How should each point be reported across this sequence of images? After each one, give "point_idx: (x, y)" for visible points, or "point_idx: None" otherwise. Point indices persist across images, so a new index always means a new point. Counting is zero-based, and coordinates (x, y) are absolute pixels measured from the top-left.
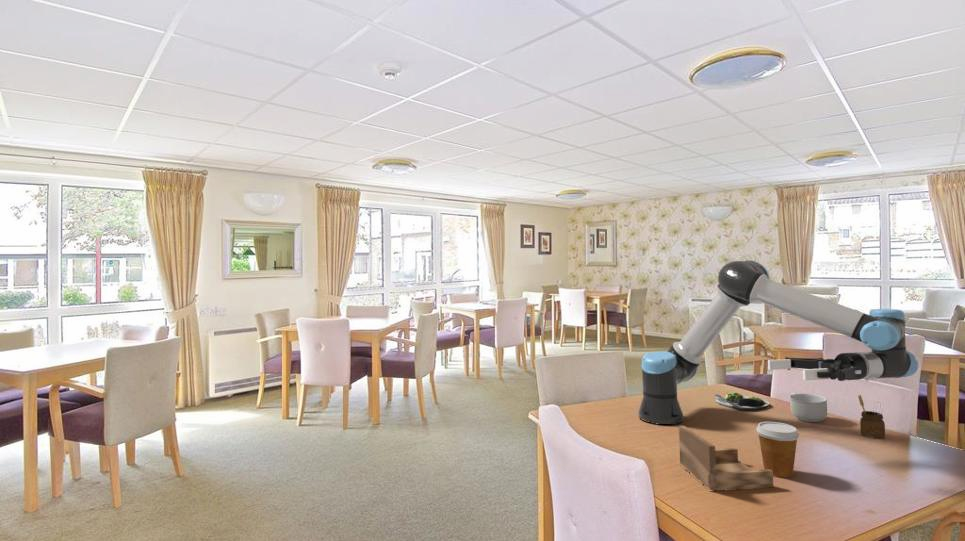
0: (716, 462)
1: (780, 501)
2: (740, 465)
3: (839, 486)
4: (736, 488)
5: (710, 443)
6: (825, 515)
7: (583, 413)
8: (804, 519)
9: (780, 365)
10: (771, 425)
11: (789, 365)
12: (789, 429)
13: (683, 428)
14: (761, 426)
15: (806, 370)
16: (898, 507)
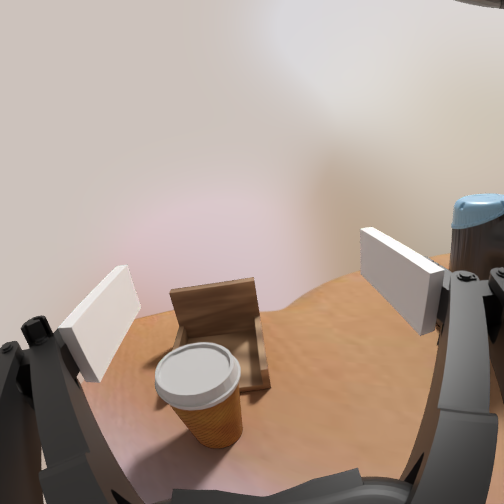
0: (256, 357)
1: (139, 385)
2: (240, 381)
3: (143, 482)
4: None
5: (178, 291)
6: (97, 404)
7: (436, 262)
8: (103, 383)
9: (386, 278)
10: (215, 367)
11: (417, 309)
12: (179, 385)
13: (241, 279)
14: (213, 349)
15: (114, 271)
16: None
